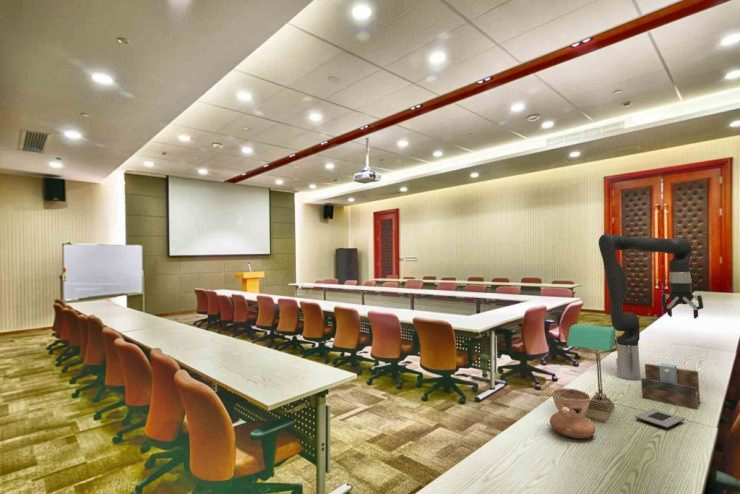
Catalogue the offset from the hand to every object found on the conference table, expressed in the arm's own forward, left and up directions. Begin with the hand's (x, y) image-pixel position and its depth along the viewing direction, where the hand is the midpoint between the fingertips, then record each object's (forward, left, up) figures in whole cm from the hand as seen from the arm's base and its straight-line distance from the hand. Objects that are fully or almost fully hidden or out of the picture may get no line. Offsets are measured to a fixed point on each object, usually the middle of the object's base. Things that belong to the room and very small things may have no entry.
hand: (682, 317), depth 166 cm
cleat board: (-4, -15, -34) cm, 37 cm away
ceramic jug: (-23, -74, -34) cm, 85 cm away
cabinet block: (-4, -15, -29) cm, 33 cm away
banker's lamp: (-22, -50, -34) cm, 65 cm away
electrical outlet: (-3, -43, -35) cm, 55 cm away
